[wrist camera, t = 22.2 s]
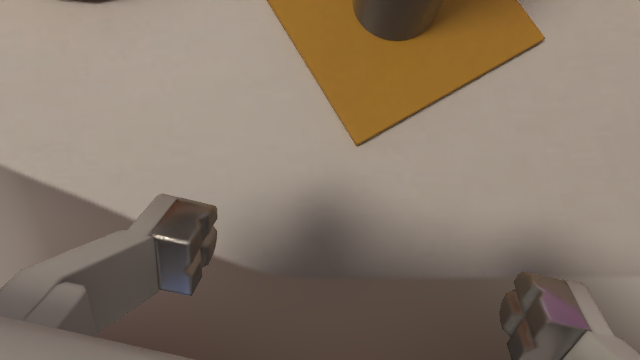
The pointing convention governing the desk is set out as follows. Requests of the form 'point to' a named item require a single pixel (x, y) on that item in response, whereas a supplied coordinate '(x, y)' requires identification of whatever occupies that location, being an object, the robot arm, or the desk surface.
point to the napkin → (401, 56)
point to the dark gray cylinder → (396, 17)
